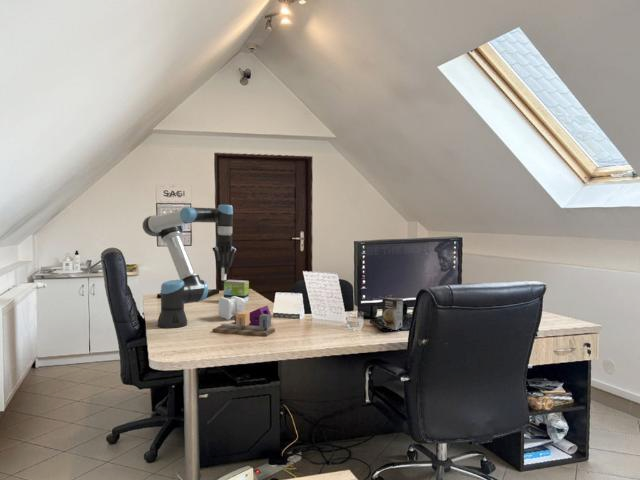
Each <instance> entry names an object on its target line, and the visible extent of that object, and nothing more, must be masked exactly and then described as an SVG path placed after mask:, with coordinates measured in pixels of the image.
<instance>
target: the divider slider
mask: <svg viewBox="0 0 640 480" xmlns="http://www.w3.org/2000/svg"><path fill="white" fill-rule="evenodd" d="M250 312H251V311H245V312H239V313H236V316H235V317H236V318H235V319H236V323H235V324H236V325H238V326H239V329H241V326H247V325H250Z"/></svg>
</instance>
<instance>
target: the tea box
mask: <svg viewBox="0 0 640 480" xmlns="http://www.w3.org/2000/svg"><path fill="white" fill-rule="evenodd" d="M249 293H250V281H249V280H246V279H245V280H242V279H226V280H223V297H224V298H227V299H231V297H232V296H236V297H239V298H243V299H244V300H245V302H246V303H247V302H249V296H250V295H249Z"/></svg>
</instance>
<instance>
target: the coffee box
mask: <svg viewBox="0 0 640 480" xmlns="http://www.w3.org/2000/svg"><path fill="white" fill-rule="evenodd" d="M381 305H382V307H381V326H382V325H383V326H386V327H390V328H392V329H395V330H397V329H399V328H401V327H402V328H403V314H404V313H403V311H404V310H403V309H404V299H402V298H397V297H389V296H388V297H382V304H381Z"/></svg>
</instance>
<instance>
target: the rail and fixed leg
mask: <svg viewBox="0 0 640 480" xmlns="http://www.w3.org/2000/svg"><path fill="white" fill-rule="evenodd" d="M271 320H272V314H262V315H260V320H259V326H253V325H252V324H249V325H247V326H241V329H253V330H261V331H264V330H265V331H267V330H269V328H271V326H272V321H271ZM220 326H221V327H227V328H239V326H238V325H236V323H226V322H225V323H224V322H223V323H221V324H220Z"/></svg>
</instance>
